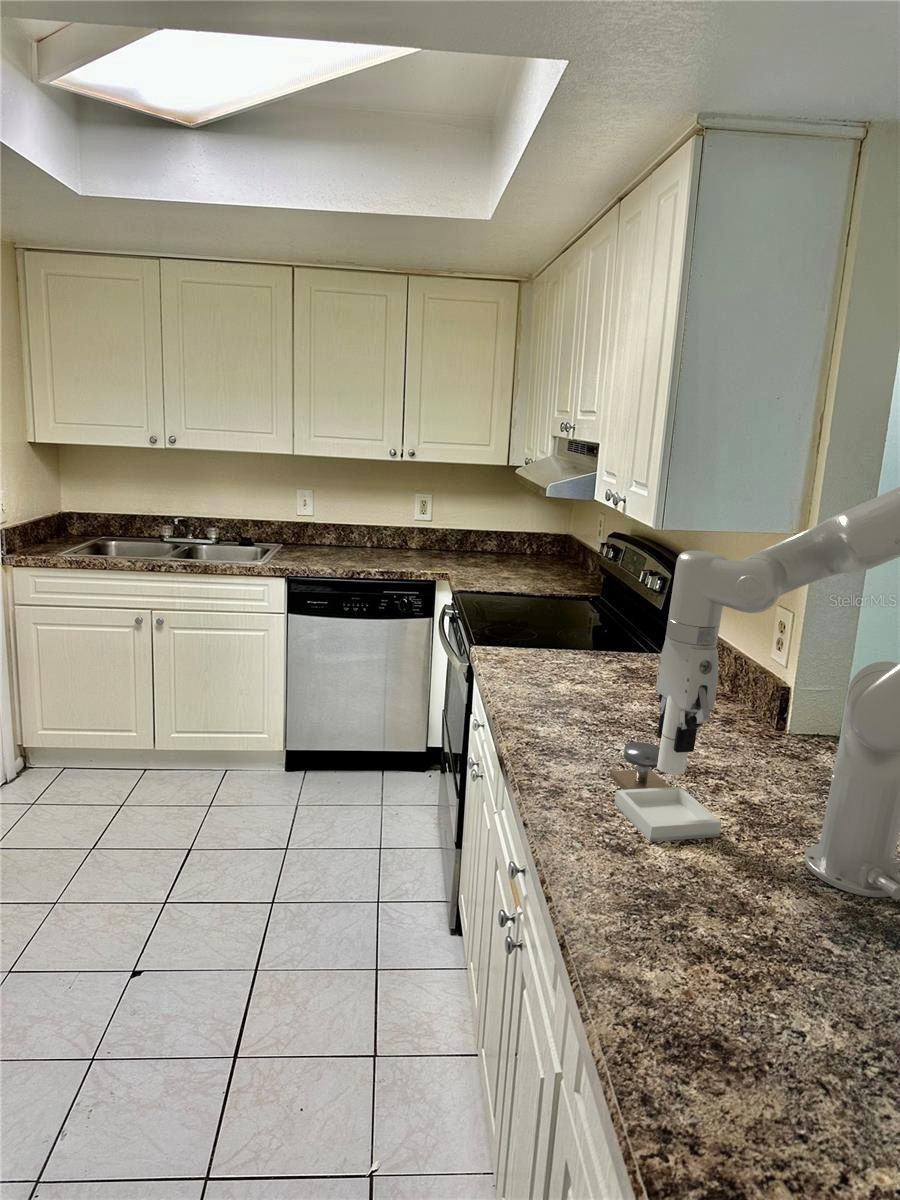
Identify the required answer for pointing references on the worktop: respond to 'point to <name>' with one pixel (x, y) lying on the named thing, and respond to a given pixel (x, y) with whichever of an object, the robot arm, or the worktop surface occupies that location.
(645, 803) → the tray
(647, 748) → the knob on plate
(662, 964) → the worktop surface
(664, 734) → the tube
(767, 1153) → the worktop surface
